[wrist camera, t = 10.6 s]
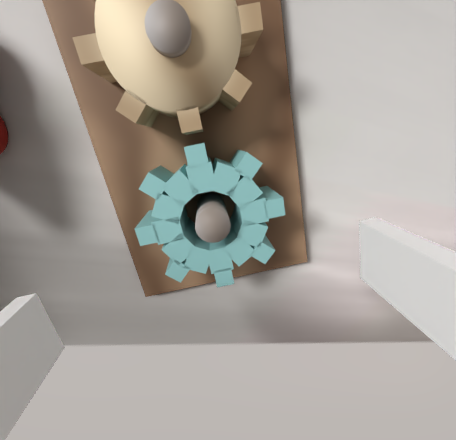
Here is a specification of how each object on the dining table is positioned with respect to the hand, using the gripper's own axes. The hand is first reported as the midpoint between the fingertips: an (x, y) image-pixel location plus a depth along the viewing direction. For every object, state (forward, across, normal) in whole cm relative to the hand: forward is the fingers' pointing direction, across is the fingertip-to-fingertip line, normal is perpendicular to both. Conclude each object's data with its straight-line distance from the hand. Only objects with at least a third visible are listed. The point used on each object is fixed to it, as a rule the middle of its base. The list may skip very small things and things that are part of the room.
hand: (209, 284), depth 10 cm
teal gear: (+14, 0, 0) cm, 14 cm away
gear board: (+15, +1, +6) cm, 16 cm away
